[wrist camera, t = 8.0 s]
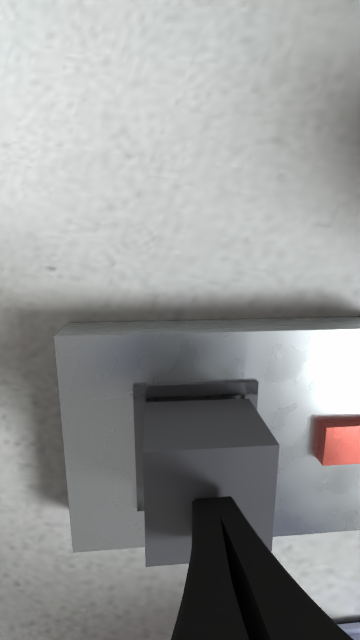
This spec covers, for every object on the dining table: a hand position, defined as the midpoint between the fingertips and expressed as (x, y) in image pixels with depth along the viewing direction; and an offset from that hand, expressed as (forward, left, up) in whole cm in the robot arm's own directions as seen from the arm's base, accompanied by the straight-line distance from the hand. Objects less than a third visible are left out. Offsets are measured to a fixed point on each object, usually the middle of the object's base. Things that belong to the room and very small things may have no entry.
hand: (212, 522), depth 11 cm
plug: (0, 0, -7) cm, 7 cm away
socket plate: (0, -2, -7) cm, 7 cm away
